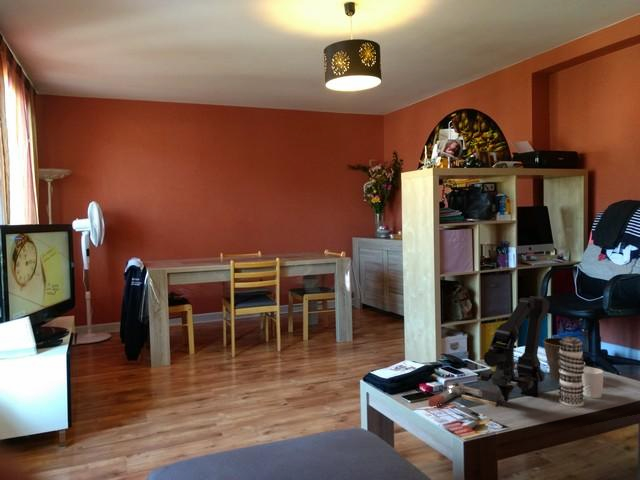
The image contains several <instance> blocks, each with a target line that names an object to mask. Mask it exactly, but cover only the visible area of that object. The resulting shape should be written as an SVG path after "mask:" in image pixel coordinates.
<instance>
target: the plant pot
mask: <svg viewBox="0 0 640 480" xmlns="http://www.w3.org/2000/svg"><path fill="white" fill-rule="evenodd" d="M563 338H564V337H548V338H544V339H543V347H544V352H545V358H546V361H547V364H548V367H549V369H550V373H551V375H552V378H553V379H557V380H560V372H559V366H558V364H559V362H558V360H559V358H558V355H559V354H558V351H560V342H559V341H560V340H562V339H563ZM560 357H561V356H560ZM560 366H561V365H560Z"/></svg>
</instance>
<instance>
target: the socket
mask: <svg viewBox="0 0 640 480" xmlns="http://www.w3.org/2000/svg"><path fill="white" fill-rule="evenodd" d="M481 393H482V396H481V399H483V400H487V401H491V402H495V403H496V406H495V407H497V406H498V405H500V404H501V403H503V401H502V397H503V395H502V393H501V390H500V388H499V387H498V388H496V387H491V386H485V387H484V388H482V389H481Z"/></svg>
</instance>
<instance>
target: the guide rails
mask: <svg viewBox="0 0 640 480" xmlns="http://www.w3.org/2000/svg"><path fill="white" fill-rule="evenodd" d="M468 394H469V395H466V394H464V395H461V396H460V397H461V399H462V400H467V401H471V402H475V403H479V404H483V405H487V406H491V407H497V406H496V403H495V402H491V401H487V400H483V399H482V398H479V397H482V392H481V394H480V395H476V394H472V393H468ZM470 394H471V395H474V396H477V397H478V398H477V397H474V396H470ZM502 402H505V401H504V398H503V396H502Z"/></svg>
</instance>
